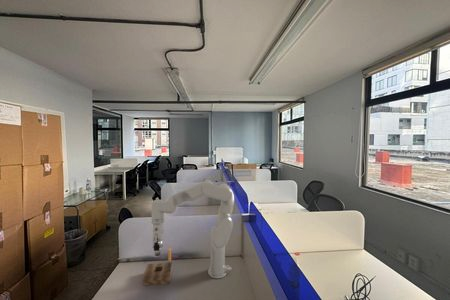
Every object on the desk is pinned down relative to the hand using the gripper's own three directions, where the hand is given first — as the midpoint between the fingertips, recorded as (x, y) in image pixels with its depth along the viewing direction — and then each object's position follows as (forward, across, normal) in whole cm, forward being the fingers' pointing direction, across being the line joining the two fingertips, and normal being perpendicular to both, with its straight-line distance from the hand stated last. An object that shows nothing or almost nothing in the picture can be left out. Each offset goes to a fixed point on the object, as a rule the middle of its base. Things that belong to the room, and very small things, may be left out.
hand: (157, 247), depth 133 cm
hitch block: (+20, 0, -1) cm, 20 cm away
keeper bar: (+6, 0, -7) cm, 9 cm away
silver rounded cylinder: (+5, 0, 0) cm, 5 cm away
